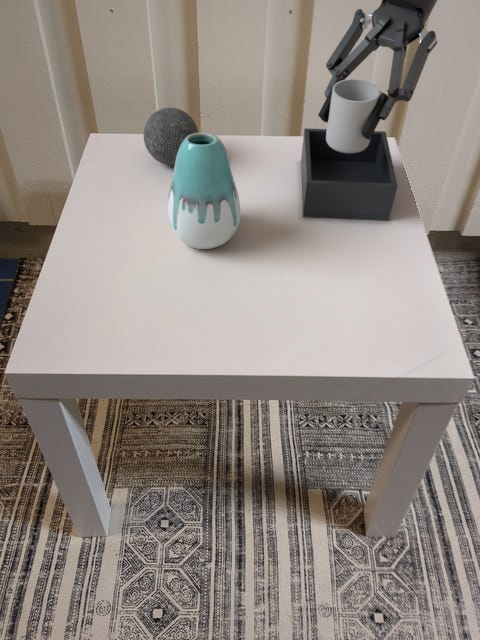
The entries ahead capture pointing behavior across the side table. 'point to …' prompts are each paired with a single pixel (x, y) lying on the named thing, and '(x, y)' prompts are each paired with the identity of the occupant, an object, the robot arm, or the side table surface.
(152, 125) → the decorative ball
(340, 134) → the cup
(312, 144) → the open box
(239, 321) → the side table surface
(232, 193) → the vase
